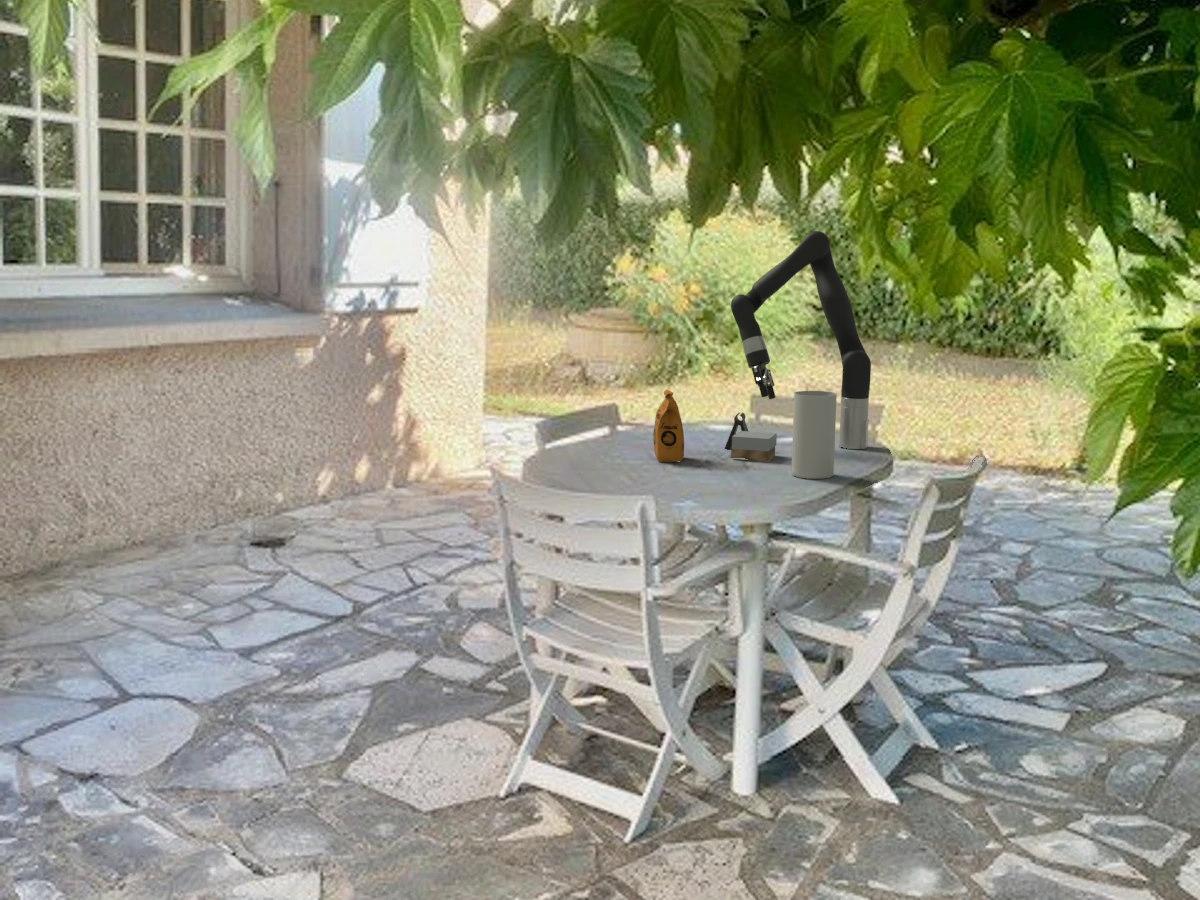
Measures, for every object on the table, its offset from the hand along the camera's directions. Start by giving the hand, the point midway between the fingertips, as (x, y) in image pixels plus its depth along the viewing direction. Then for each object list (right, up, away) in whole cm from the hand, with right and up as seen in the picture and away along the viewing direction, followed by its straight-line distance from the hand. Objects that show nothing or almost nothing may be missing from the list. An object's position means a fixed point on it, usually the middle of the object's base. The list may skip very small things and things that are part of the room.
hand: (769, 397), depth 420 cm
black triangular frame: (-10, -17, +4) cm, 20 cm away
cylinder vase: (+7, -25, -42) cm, 50 cm away
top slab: (-7, -17, -14) cm, 22 cm away
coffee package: (-35, -21, -17) cm, 44 cm away
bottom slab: (-7, -20, -13) cm, 25 cm away
